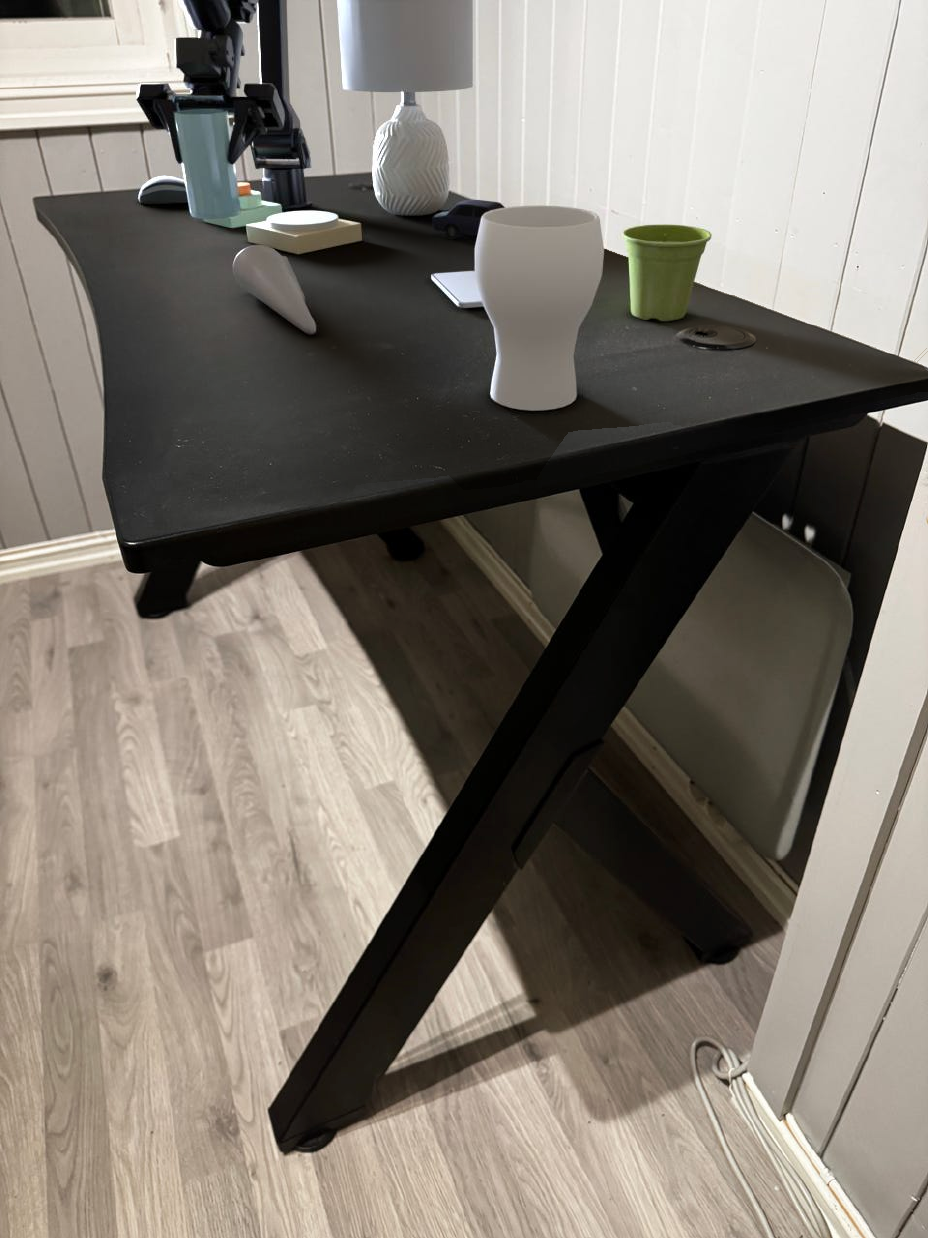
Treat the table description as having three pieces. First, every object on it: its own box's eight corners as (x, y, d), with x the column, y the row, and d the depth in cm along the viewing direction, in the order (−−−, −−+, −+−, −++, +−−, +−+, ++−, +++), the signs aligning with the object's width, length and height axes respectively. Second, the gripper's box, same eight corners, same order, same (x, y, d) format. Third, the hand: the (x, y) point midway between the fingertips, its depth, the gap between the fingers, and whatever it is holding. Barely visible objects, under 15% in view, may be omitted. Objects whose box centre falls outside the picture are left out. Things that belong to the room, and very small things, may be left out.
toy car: (515, 246, 131) (516, 209, 128) (429, 236, 136) (428, 200, 134) (533, 238, 135) (534, 202, 132) (448, 229, 141) (448, 194, 138)
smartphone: (485, 269, 117) (521, 298, 105) (485, 274, 117) (520, 304, 105) (429, 273, 115) (459, 303, 103) (429, 278, 116) (459, 309, 103)
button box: (254, 212, 153) (250, 186, 151) (283, 218, 148) (280, 192, 146) (203, 221, 147) (199, 194, 145) (231, 228, 142) (227, 200, 140)
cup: (514, 368, 87) (519, 199, 79) (613, 389, 82) (629, 212, 74) (451, 401, 80) (448, 219, 72) (555, 427, 75) (565, 235, 67)
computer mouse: (209, 202, 161) (205, 177, 158) (137, 205, 159) (132, 180, 156) (209, 195, 166) (206, 171, 164) (140, 198, 164) (136, 174, 162)
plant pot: (649, 331, 97) (658, 246, 92) (599, 309, 104) (605, 229, 99) (717, 319, 100) (730, 236, 95) (664, 299, 107) (673, 220, 102)
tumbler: (222, 207, 129) (208, 107, 122) (250, 213, 125) (237, 110, 118) (181, 214, 125) (163, 111, 118) (208, 221, 121) (192, 115, 114)
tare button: (242, 193, 148) (241, 181, 147) (256, 195, 146) (254, 183, 145) (224, 196, 146) (222, 184, 145) (237, 198, 143) (235, 186, 142)
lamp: (417, 197, 164) (408, -56, 143) (497, 211, 152) (501, -62, 131) (327, 212, 152) (304, -60, 132) (407, 229, 140) (395, -68, 120)
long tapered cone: (258, 356, 95) (233, 292, 109) (318, 356, 98) (286, 293, 111) (258, 302, 92) (232, 243, 106) (320, 304, 94) (287, 245, 108)
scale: (311, 229, 141) (309, 206, 140) (362, 240, 135) (360, 216, 133) (247, 241, 134) (244, 217, 132) (297, 254, 127) (295, 229, 126)
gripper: (125, 10, 116) (109, 117, 113) (267, 9, 114) (254, 118, 112) (161, 76, 127) (146, 176, 124) (290, 76, 125) (279, 177, 123)
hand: (204, 161), depth 120 cm, fingers closed on tumbler, 7 cm apart
